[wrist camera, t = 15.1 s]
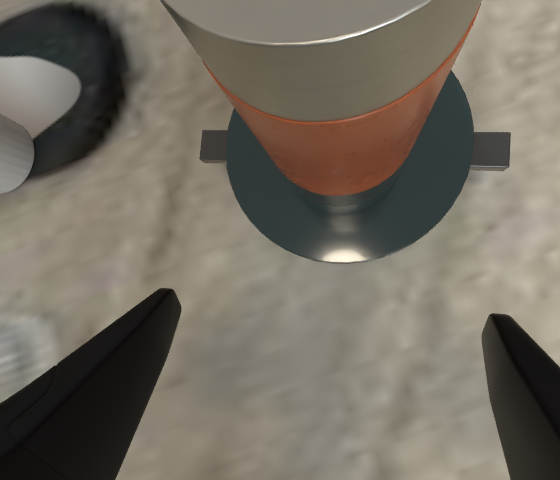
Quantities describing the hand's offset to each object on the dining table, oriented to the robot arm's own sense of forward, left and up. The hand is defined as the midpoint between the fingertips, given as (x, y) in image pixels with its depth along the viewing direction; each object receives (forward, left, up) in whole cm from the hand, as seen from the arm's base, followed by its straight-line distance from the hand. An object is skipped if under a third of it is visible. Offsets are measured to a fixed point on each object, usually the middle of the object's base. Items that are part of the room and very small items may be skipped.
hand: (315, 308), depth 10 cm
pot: (+7, -3, -12) cm, 14 cm away
